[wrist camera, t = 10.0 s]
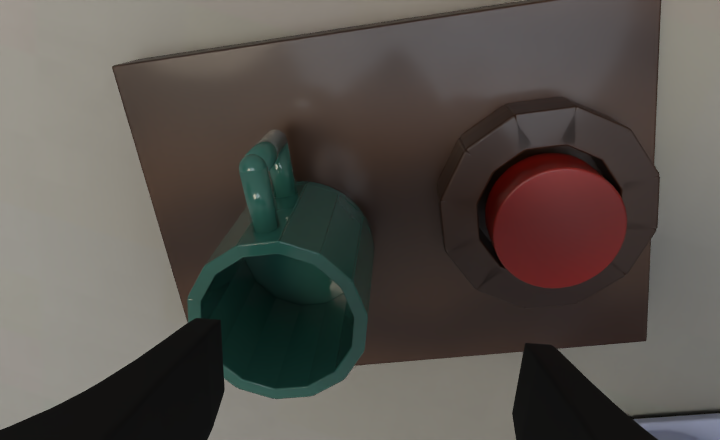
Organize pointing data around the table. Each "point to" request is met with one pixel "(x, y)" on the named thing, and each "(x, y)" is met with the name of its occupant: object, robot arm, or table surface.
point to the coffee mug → (288, 281)
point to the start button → (555, 220)
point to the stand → (422, 157)
